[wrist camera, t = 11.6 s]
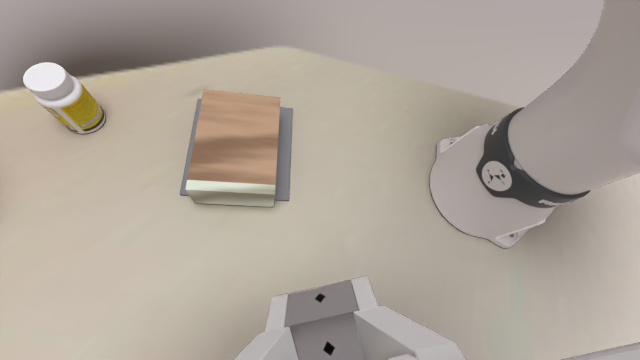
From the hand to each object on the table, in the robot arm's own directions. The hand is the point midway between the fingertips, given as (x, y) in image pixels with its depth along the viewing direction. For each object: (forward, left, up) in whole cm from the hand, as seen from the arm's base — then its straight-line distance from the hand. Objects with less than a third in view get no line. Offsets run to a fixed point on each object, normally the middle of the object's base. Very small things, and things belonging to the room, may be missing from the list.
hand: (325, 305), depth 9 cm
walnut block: (+1, -13, -26) cm, 29 cm away
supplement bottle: (+15, -32, -29) cm, 46 cm away
